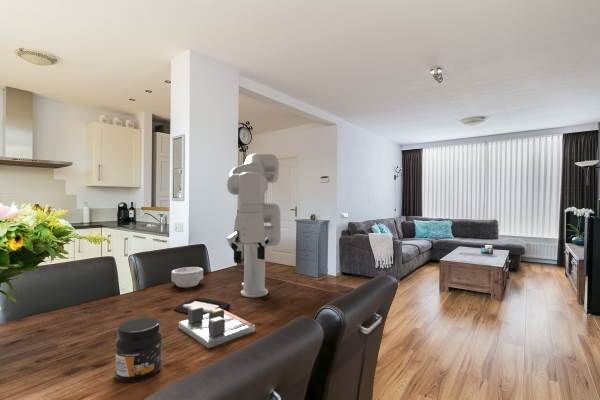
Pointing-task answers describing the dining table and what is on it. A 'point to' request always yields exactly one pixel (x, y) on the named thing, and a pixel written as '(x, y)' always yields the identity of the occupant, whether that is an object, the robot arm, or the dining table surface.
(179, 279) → the grey round bowl
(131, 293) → the dining table surface
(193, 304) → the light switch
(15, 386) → the dining table surface
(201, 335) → the panel
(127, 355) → the supplement container
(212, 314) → the block
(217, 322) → the breaker right
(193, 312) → the block
